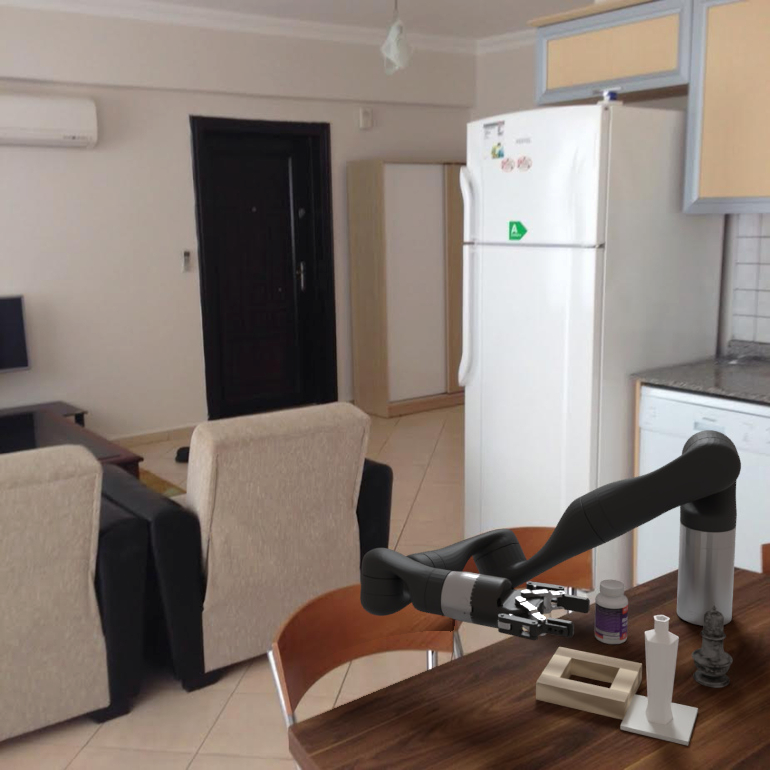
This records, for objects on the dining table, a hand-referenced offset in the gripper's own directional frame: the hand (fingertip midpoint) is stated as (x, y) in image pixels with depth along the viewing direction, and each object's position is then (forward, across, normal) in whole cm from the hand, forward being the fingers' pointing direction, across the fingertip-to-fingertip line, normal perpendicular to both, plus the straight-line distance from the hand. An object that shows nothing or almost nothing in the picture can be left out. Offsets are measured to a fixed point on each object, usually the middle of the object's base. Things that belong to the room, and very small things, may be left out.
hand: (581, 617), depth 125 cm
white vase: (+11, 0, -13) cm, 17 cm away
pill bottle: (-1, -22, -14) cm, 26 cm away
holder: (0, -4, -14) cm, 14 cm away
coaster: (+11, 0, -14) cm, 18 cm away
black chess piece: (+16, -15, -14) cm, 26 cm away
